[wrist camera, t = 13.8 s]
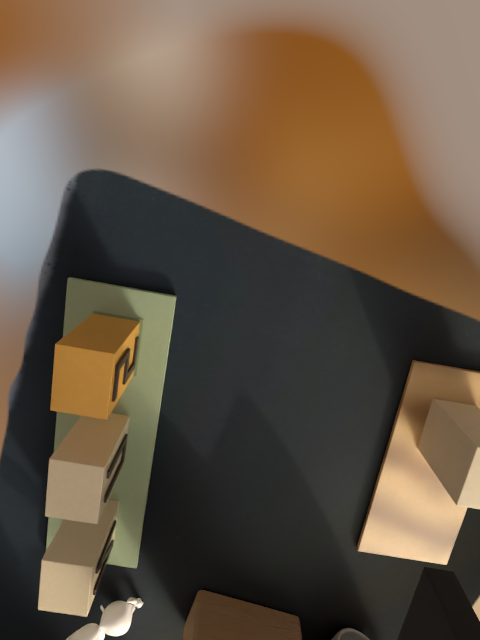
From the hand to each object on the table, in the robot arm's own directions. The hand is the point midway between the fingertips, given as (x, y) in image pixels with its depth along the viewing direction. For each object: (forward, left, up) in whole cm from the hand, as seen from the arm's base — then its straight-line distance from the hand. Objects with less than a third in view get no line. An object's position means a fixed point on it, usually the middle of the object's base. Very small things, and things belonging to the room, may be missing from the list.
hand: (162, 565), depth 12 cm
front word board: (+14, -8, -28) cm, 32 cm away
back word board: (+12, +22, -28) cm, 38 cm away
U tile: (+14, -8, -28) cm, 32 cm away
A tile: (+7, +22, -28) cm, 36 cm away
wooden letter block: (+23, -8, -28) cm, 37 cm away
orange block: (+5, -8, -28) cm, 29 cm away
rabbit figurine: (+34, -6, -28) cm, 45 cm away
